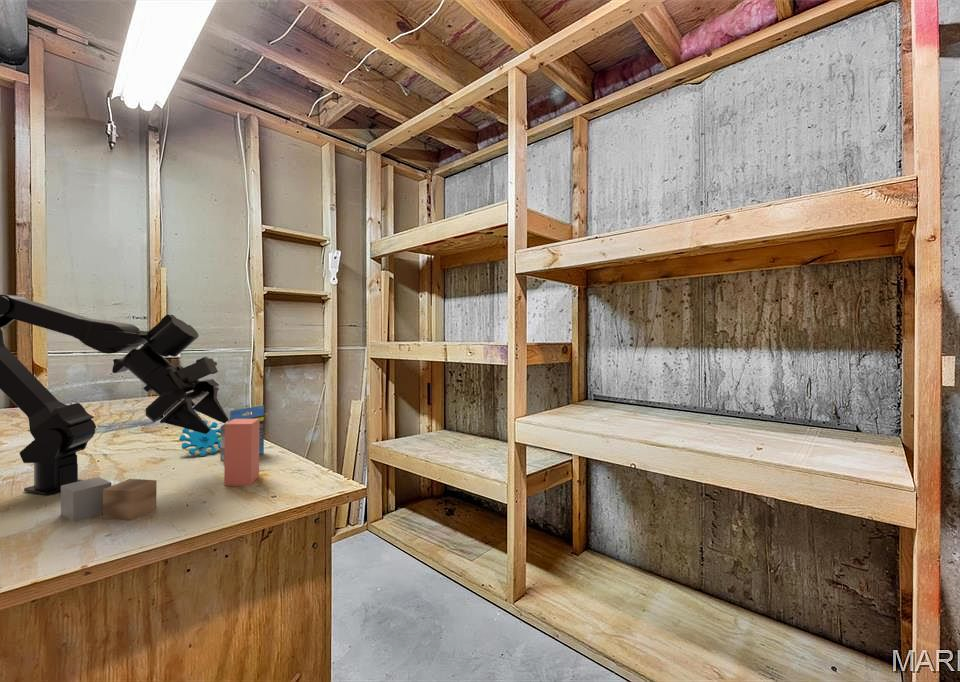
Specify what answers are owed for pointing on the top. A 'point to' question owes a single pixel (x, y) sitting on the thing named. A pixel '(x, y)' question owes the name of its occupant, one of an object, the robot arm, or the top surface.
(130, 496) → the walnut cube
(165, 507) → the top surface
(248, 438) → the red block
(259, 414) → the label tape cartridge
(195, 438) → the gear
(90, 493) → the gray cube
